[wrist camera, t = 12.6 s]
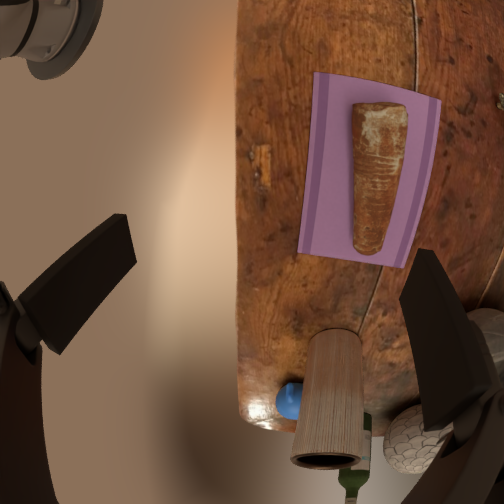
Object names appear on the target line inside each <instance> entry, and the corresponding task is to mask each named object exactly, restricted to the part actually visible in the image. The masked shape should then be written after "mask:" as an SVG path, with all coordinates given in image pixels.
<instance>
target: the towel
mask: <svg viewBox="0 0 504 504" xmlns="http://www.w3.org/2000/svg"><path fill="white" fill-rule="evenodd" d="M375 102H393V103H399V104H403V105H404V106H405V107H406V111H407V113H408V130H407V137H406V145H405V154H404V162H403V166H402V171H401V176H400V181H399V186H398V190H397V195H396V199H395V203H394V208H393V211H392V215H391V219H390V223H389V226H388V229H387V233H386V236H385V239H384V243H383V246H382V249H381V251H380V252H377V253H376V254H374V255H371V256H366V255H362V254H360V253H358V252H357V251H356V250H355V249H354V247H353V225H354V224H353V210H354V175H353V172H354V159H353V143H352V104H355V103H375ZM440 110H441V100H438V99H436V98H433V97H430V96H427V95H423V94H420V93H417V92H414V91H410V90H407V89H403V88H399V87H396V86H392V85H388V84H384V83H379V82H375V81H370V80H365V79H360V78H354V77H349V76H343V75H336V74H329V73H321V72H314V81H313V99H312V114H311V128H310V140H309V152H308V163H307V173H306V183H305V193H304V202H303V210H302V219H301V227H300V235H299V243H298V250H297V252H298V253H305V254H312V255H319V256H325V257H332V258H339V259H345V260H352V261H359V262H365V263H372V264H379V265H385V266H392V267H398V268H404V265H405V263H406V260H407V257H408V254H409V251H410V248H411V245H412V242H413V239H414V236H415V233H416V229H417V226H418V222H419V219H420V215H421V212H422V208H423V204H424V200H425V196H426V192H427V188H428V184H429V179H430V175H431V170H432V165H433V159H434V154H435V148H436V142H437V135H438V128H439V120H440Z"/></svg>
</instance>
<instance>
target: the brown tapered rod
mask: <svg viewBox="0 0 504 504" xmlns="http://www.w3.org/2000/svg"><path fill="white" fill-rule="evenodd" d="M407 130H408V113H407V111H406V107H405V106H404V105H403V104H399V103H393V102H375V103H355V104H352V143H353V159H354V172H353V175H354V210H353V224H354V225H353V247H354V249H355V250H356V251H357V252H358V253H360V254H362V255H366V256H371V255H374V254H376V253H377V252H380V251H381V249H382V246H383V243H384V239H385V236H386V233H387V229H388V226H389V223H390V219H391V215H392V211H393V208H394V203H395V199H396V195H397V190H398V186H399V181H400V176H401V171H402V166H403V162H404V154H405V145H406V137H407Z"/></svg>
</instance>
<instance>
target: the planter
mask: <svg viewBox="0 0 504 504" xmlns="http://www.w3.org/2000/svg"><path fill="white" fill-rule="evenodd" d="M363 418H364V390H363V360H362V346H361V341H360V339H359V337H358V336H357V335H356V334H354V333H353V332H350V331H348V330H343V329H330V330H325V331H322V332H320V333H318V334H316V335H315V336H314V337H313V338H312V339H311V340H310V342H309V346H308V351H307V360H306V367H305V375H304V382H303V389H302V396H301V402H300V409H299V415H298V421H297V426H296V432H295V438H294V443H293V448H292V453H291V459H290V460H291V462H292V463H293V464H295V465H297V466H300V467H304V468H309V469H318V470H334V469H343V468H348V467H352V466H354V465H357V464H358V463H360V462H361V460H362V447H363Z"/></svg>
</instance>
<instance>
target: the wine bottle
mask: <svg viewBox="0 0 504 504" xmlns="http://www.w3.org/2000/svg"><path fill="white" fill-rule="evenodd" d="M371 434H372V417H371V415H369V414H367V413H364V418H363V447H362V460H361V462H360V463H358V464H357V465H354V466H352V467H348V468H343V469H339V477H338V480H339V483H340V484H341V485H342V486H343V487H344V488H345V489H346V498H345V504H356V501H357V495H358V490H359V488H360V487H361V486H362V485H364V484H365V483H366V482H367V480H368V478H369V475H370V461H371Z"/></svg>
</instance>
